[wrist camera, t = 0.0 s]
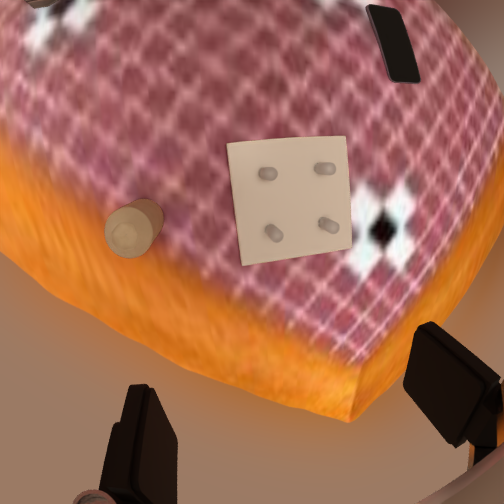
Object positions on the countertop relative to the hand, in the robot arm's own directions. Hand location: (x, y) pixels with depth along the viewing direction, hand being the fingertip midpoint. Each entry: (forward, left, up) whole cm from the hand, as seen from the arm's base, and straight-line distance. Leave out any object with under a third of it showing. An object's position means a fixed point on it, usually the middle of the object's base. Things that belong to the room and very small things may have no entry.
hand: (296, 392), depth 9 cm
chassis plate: (-2, +9, -31) cm, 33 cm away
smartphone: (-27, +30, -32) cm, 51 cm away
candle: (-2, -11, -31) cm, 33 cm away
